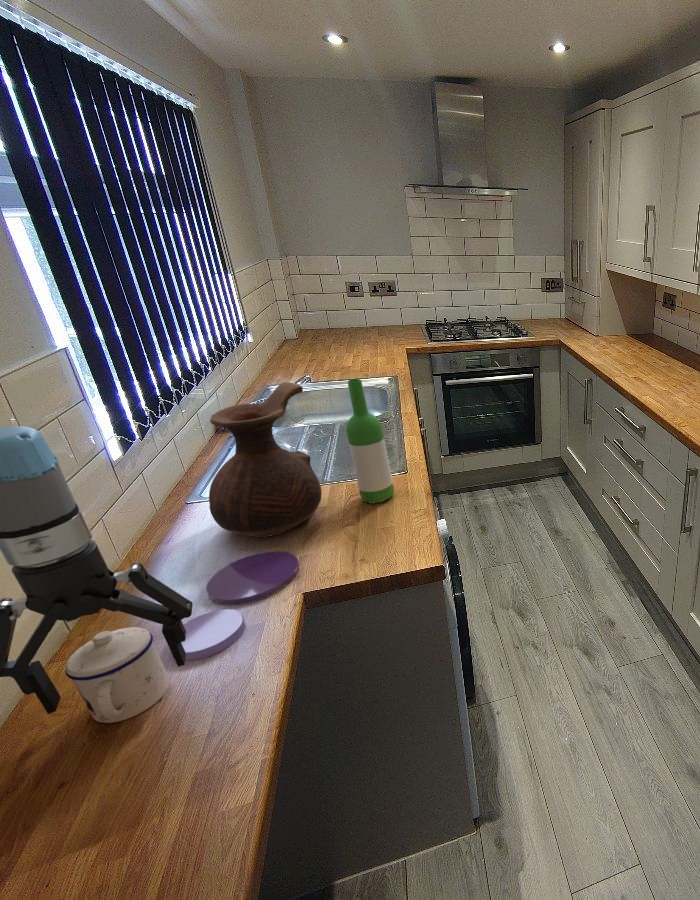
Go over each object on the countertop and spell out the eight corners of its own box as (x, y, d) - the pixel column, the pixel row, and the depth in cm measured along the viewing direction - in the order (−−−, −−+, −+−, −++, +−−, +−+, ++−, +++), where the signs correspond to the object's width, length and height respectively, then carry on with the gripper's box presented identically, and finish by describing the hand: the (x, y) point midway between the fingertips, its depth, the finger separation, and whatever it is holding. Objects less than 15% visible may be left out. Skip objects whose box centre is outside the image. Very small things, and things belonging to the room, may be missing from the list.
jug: (323, 536, 114) (288, 405, 102) (206, 557, 107) (155, 419, 95) (333, 493, 133) (305, 377, 121) (234, 508, 126) (194, 388, 114)
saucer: (207, 616, 91) (205, 610, 90) (209, 572, 102) (207, 567, 102) (303, 585, 98) (302, 580, 98) (295, 548, 110) (294, 543, 109)
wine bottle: (366, 508, 125) (340, 387, 113) (357, 496, 131) (331, 379, 119) (399, 498, 129) (377, 380, 118) (389, 487, 135) (366, 373, 123)
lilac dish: (169, 670, 80) (165, 662, 79) (174, 631, 87) (171, 624, 87) (246, 643, 85) (243, 635, 84) (244, 608, 92) (242, 601, 92)
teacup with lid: (100, 689, 77) (67, 626, 72) (177, 664, 81) (150, 604, 76) (75, 754, 67) (35, 687, 62) (163, 723, 71) (132, 658, 66)
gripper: (-118, 609, 55) (-18, 749, 63) (177, 533, 67) (228, 659, 75) (-85, 573, 60) (3, 706, 69) (181, 509, 73) (228, 628, 81)
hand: (121, 681), depth 72 cm, fingers open, 13 cm apart
